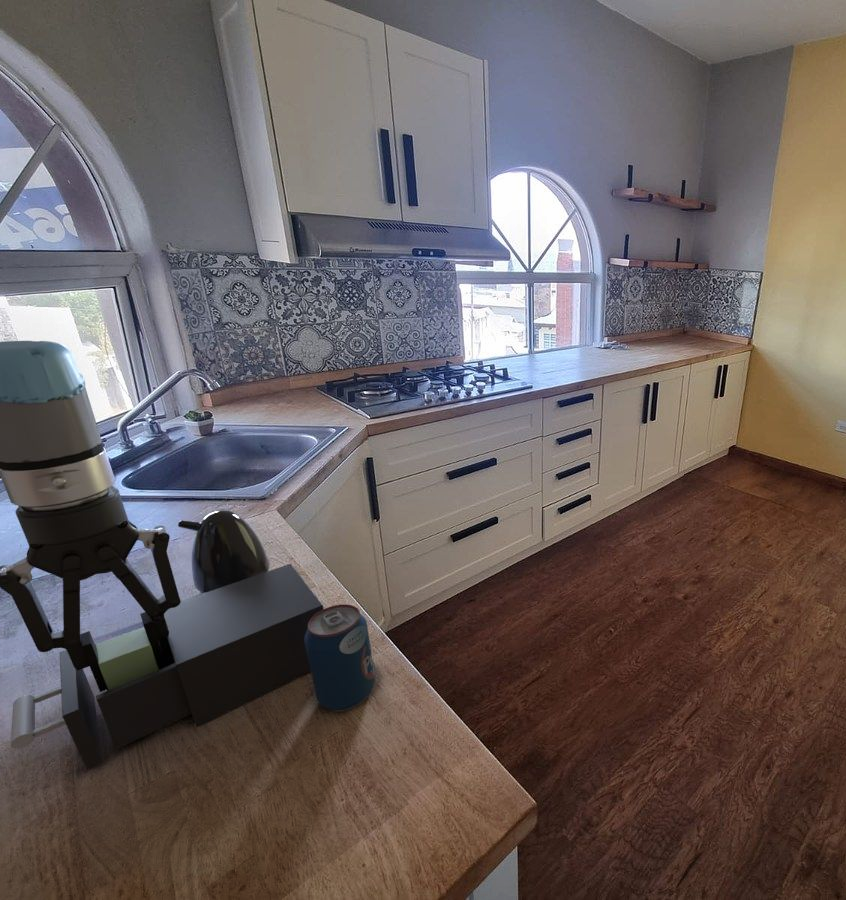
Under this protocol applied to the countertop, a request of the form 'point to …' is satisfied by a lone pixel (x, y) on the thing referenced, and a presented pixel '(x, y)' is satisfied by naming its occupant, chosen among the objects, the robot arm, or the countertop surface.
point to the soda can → (340, 657)
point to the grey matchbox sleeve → (241, 640)
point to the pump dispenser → (224, 551)
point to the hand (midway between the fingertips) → (132, 671)
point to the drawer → (105, 708)
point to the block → (126, 658)
